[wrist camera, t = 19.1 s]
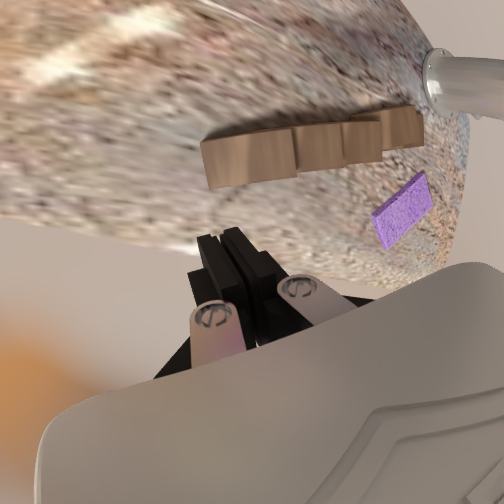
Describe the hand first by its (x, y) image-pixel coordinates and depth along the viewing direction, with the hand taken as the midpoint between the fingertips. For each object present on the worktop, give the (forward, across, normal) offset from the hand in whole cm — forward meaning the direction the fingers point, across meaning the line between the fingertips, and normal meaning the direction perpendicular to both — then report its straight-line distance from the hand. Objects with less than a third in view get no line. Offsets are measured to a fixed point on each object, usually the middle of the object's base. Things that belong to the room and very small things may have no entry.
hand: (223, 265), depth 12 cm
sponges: (+22, -33, +12) cm, 41 cm away
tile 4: (+20, -9, 0) cm, 22 cm away
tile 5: (+20, -3, 0) cm, 20 cm away
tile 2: (+20, -22, -1) cm, 30 cm away
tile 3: (+20, -15, 0) cm, 25 cm away
